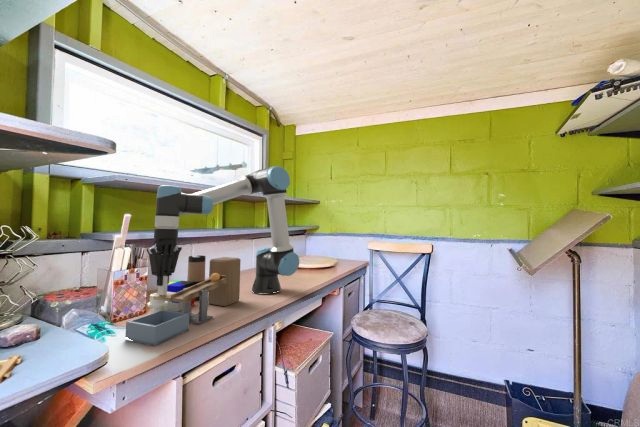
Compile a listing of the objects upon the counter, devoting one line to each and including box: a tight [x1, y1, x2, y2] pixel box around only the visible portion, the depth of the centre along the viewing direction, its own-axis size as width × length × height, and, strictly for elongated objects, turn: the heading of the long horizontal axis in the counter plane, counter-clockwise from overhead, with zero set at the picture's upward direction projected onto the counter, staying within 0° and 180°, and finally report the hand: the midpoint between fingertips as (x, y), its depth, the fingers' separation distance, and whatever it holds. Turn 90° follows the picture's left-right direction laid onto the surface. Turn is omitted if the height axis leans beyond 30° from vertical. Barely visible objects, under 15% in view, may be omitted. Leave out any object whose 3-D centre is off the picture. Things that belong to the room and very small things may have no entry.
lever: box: [153, 275, 226, 303], centre depth 103 cm, size 22×14×3 cm, turn 162°
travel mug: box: [186, 255, 206, 301], centre depth 127 cm, size 8×8×20 cm
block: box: [208, 256, 242, 307], centre depth 121 cm, size 10×10×20 cm
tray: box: [125, 310, 190, 347], centre depth 84 cm, size 13×12×6 cm
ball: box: [210, 273, 220, 282], centre depth 109 cm, size 4×4×4 cm
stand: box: [181, 287, 214, 326], centre depth 99 cm, size 7×11×11 cm, turn 72°
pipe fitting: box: [146, 292, 168, 313], centre depth 103 cm, size 6×7×8 cm
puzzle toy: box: [162, 279, 196, 312], centre depth 114 cm, size 10×10×10 cm
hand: (162, 294), depth 95 cm, fingers closed
